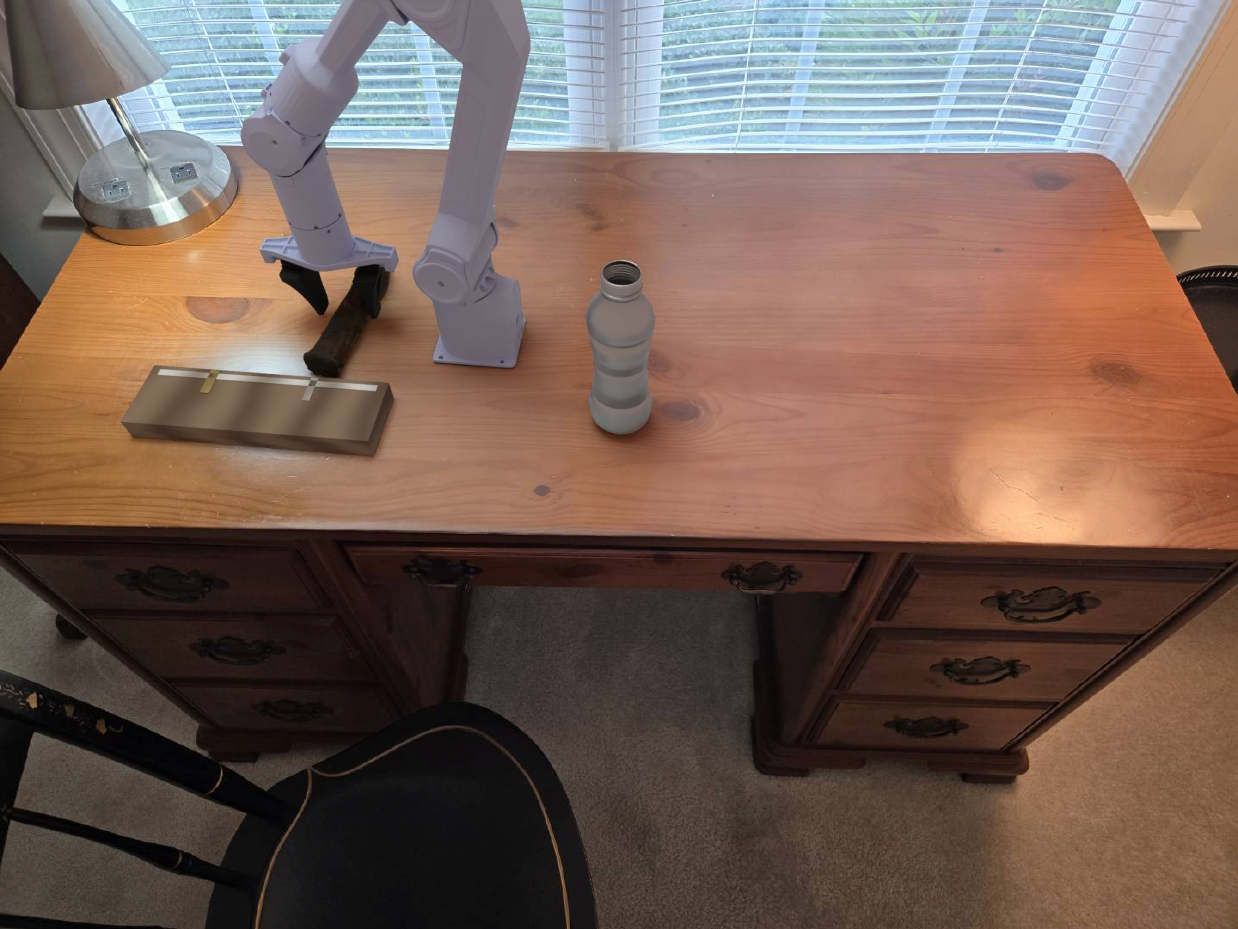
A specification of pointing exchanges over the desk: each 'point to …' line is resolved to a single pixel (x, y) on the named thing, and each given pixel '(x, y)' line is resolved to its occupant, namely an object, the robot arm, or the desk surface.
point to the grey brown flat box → (260, 410)
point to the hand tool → (340, 333)
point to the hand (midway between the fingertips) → (349, 311)
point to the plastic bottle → (620, 349)
